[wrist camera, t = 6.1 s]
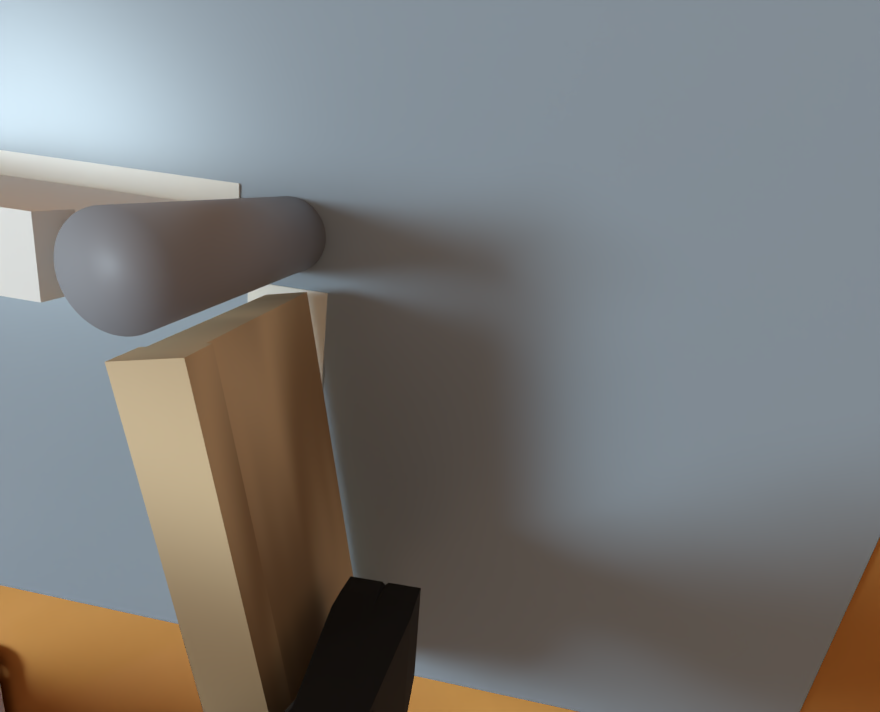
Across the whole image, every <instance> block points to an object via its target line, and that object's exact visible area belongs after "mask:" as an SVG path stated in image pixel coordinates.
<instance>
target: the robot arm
mask: <svg viewBox="0 0 880 712" xmlns="http://www.w3.org/2000/svg"><path fill="white" fill-rule="evenodd" d="M420 593H421V588H418V587H412V586H406V585H400V584H394V583H387V584H386V585H385V584H384V583H383V582H382V581H376V580H370V579H364V578H358V577H352V576H350V578H349V579H348V581H347V582H346V584H345V585H344V587H343V588H342V590H341V591H340V593H339V595H338V596H337V598H336V600H335V601H334V603H333V605H332V607H331V609H330V612H329V614H328V617H327V619H326V622H325V624H324V627H323V629H322V632H321V634H320V637H319V639H318V642H317V644H316V647H315V650H314V652H313V655H312V657H311V660H310V663H309V665H308V668H307V670H306V673H305V675H304V678H303V681H302V683H301V686H300V688H299V691H298V693H297V696H296V699H295V700H294V701H293V702H292V703H291V705H290V706H289V707H288V708H287V709H286V710H285V711H284V712H407V710H408V705H409V700H410V695H411V689H412V684H413V679H414V674H415V661H416V647H417V634H418V620H419V607H420ZM0 712H5V708H4V703H3V697H2V691H1V685H0Z"/></svg>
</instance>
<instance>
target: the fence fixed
mask: <svg viewBox="0 0 880 712" xmlns="http://www.w3.org/2000/svg"><path fill="white" fill-rule="evenodd" d="M325 243H326V233H325V228H324V224H323V222H322V219H321V217H320V216H319V214H318V213H317V211H316V210H315V209H314V208H313V207H312V206H311V205H310V204H308V203H307V202H305V201H304V200H302V199H299V198H296V197H292V196H277V197H256V198H235V199H214V200H192V201H179V200H172V199H165V198H158V197H151V196H144V195H137V194H131V193H124V192H117V191H110V190H103V189H96V188H89V187H82V186H75V185H68V184H61V183H55V182H48V181H41V180H34V179H27V178H20V177H13V176H6V175H0V296H4V297H10V298H16V299H22V300H28V301H34V302H40V303H41V302H45V301H49V300H53V299H57V298H62V297H65V298H66V299H67V301H68V302H69V304H70V305H71V306H72V307H73V309H74V310H75V311H76V312H77V313H78V314H79V315H80V316H81V317H82V318H83V319H84V320H86V321H87V322H88V323H89V324H91V325H93V326H94V327H96V328H98V329H100V330H101V331H104V332H106V333H109V334H112V335H117V336H124V337H133V336H139V335H143V334H146V333H149V332H151V331H154V330H156V329H159V328H161V327H164V326H166V325H169V324H171V323H174V322H176V321H179V320H181V319H184V318H186V317H189V316H191V315H194V314H196V313H199V312H201V311H204V310H206V309H209V308H211V307H214V306H216V305H219V304H221V303H224V302H226V301H229V300H231V299H234V298H236V297H239V296H241V295H244V294H246V293H249V292H251V291H254V290H256V289H259V288H261V287H264V286H266V285H269V284H271V283H274V282H276V281H279V280H281V279H284V278H286V277H289V276H291V275H294V274H296V273H299V272H301V271H304V270H306V269H308V268H310V267H311V266H313V265H314V264H315V263H316V262H317V261H318V260H319V259H320V257H321V255H322V253H323V251H324V248H325Z"/></svg>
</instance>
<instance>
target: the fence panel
mask: <svg viewBox="0 0 880 712" xmlns="http://www.w3.org/2000/svg"><path fill="white" fill-rule="evenodd" d="M105 365H106V369H107V372H108V376H109V379H110V383H111V386H112V390H113V393H114V397H115V401H116V404H117V408H118V411H119V415H120V418H121V422H122V425H123V429H124V432H125V436H126V439H127V443H128V447H129V450H130V454H131V457H132V461H133V464H134V468H135V471H136V475H137V478H138V482H139V485H140V489H141V492H142V496H143V500H144V503H145V507H146V510H147V514H148V517H149V521H150V524H151V528H152V531H153V535H154V538H155V542H156V546H157V549H158V553H159V556H160V560H161V563H162V567H163V570H164V574H165V577H166V581H167V584H168V588H169V592H170V595H171V599H172V602H173V606H174V609H175V613H176V616H177V620H178V623H179V627H180V630H181V634H182V637H183V641H184V645H185V648H186V652H187V655H188V659H189V662H190V666H191V669H192V673H193V676H194V680H195V683H196V687H197V691H198V694H199V698H200V701H201V705H202V708H203V712H284V711H285V710H286V709H287V708H288V707H289V706H290V705H291V703H292V702H293V701H294V700H295V699H296V696H297V693H298V691H299V688H300V686H301V683H302V681H303V678H304V675H305V673H306V670H307V668H308V665H309V663H310V660H311V657H312V655H313V652H314V650H315V647H316V644H317V642H318V639H319V637H320V634H321V632H322V629H323V627H324V624H325V622H326V619H327V617H328V614H329V612H330V609H331V607H332V605H333V603H334V601H335V600H336V598H337V596H338V595H339V593H340V591H341V590H342V588H343V587H344V585H345V584H346V582H347V581H348V579H349V578H350V576H352V577H353V572H352V565H351V559H350V553H349V547H348V541H347V535H346V529H345V522H344V516H343V510H342V504H341V498H340V492H339V486H338V479H337V473H336V467H335V461H334V455H333V449H332V443H331V436H330V430H329V424H328V418H327V412H326V406H325V400H324V393H323V387H322V381H321V375H320V369H319V363H318V357H317V350H316V344H315V338H314V332H313V326H312V320H311V314H310V307H309V301H308V295H307V292H297V293H282V294H267V295H264V296H261V297H259V298H257V299H255V300H252V301H250V302H248V303H245V304H243V305H241V306H238V307H236V308H234V309H232V310H229V311H227V312H225V313H222V314H220V315H218V316H216V317H213V318H211V319H209V320H206V321H204V322H202V323H199V324H197V325H195V326H193V327H190V328H188V329H186V330H183V331H181V332H179V333H176V334H174V335H172V336H170V337H167V338H165V339H163V340H160V341H158V342H156V343H154V344H151V345H149V346H147V347H138V348H136V349H133V350H131V351H129V352H126V353H124V354H122V355H119V356H117V357H115V358H112V359H110V360H108V361H105Z"/></svg>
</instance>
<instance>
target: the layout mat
mask: <svg viewBox="0 0 880 712" xmlns="http://www.w3.org/2000/svg"><path fill="white" fill-rule="evenodd" d="M0 175H6V176H13V177H20V178H27V179H34V180H41V181H48V182H55V183H61V184H68V185H75V186H82V187H89V188H96V189H103V190H110V191H117V192H124V193H131V194H137V195H144V196H151V197H158V198H165V199H172V200H179V201H192V200H214V199H235V198H256V197H277V196H292V197H296V198H299V199H302V200H304V201H305V202H307V203H308V204H310V205H311V206H312V207H313V208H314V209H315V210H316V211H317V213H318V214H319V216H320V217H321V219H322V222H323V224H324V228H325V233H326V243H325V248H324V251H323V253H322V255H321V257H320V259H319V260H318V261H317V262H316V263H315V264H314V265H313V266H311V267H310V268H308V269H306V270H304V271H301V272H299V273H296V274H294V275H291V276H289V277H286V278H284V279H281V280H279V281H276V282H274V283H271V284H269V285H266V286H264V287H261V288H259V289H256V290H254V291H251V292H249V293H246V294H244V295H241V296H239V297H236V298H234V299H231V300H229V301H226V302H224V303H221V304H219V305H216V306H214V307H211V308H209V309H206V310H204V311H201V312H199V313H196V314H194V315H191V316H189V317H186V318H184V319H181V320H179V321H176V322H174V323H171V324H169V325H166V326H164V327H161V328H159V329H156V330H154V331H151V332H149V333H146V334H143V335H139V336H133V337H124V336H117V335H112V334H109V333H106V332H104V331H101V330H100V329H98V328H96V327H94V326H93V325H91V324H89V323H88V322H87V321H86V320H84V319H83V318H82V317H81V316H80V315H79V314H78V313H77V312H76V311H75V310H74V309H73V307H72V306H71V305H70V304H69V302H68V301H67V299H66V298H65V297H62V298H57V299H53V300H49V301H45V302H41V303H40V302H34V301H28V300H22V299H16V298H10V297H4V296H0V585H3V586H7V587H12V588H16V589H21V590H26V591H30V592H35V593H39V594H44V595H48V596H53V597H58V598H62V599H67V600H71V601H76V602H80V603H85V604H90V605H94V606H99V607H103V608H108V609H112V610H117V611H122V612H126V613H131V614H135V615H140V616H144V617H149V618H154V619H158V620H163V621H167V622H172V623H176V624H179V623H178V620H177V616H176V613H175V609H174V606H173V602H172V599H171V595H170V592H169V588H168V584H167V581H166V577H165V574H164V570H163V567H162V563H161V560H160V556H159V553H158V549H157V546H156V542H155V538H154V535H153V531H152V528H151V524H150V521H149V517H148V514H147V510H146V507H145V503H144V500H143V496H142V492H141V489H140V485H139V482H138V478H137V475H136V471H135V468H134V464H133V461H132V457H131V454H130V450H129V447H128V443H127V439H126V436H125V432H124V429H123V425H122V422H121V418H120V415H119V411H118V408H117V404H116V401H115V397H114V393H113V390H112V386H111V383H110V379H109V376H108V372H107V369H106V365H105V361H108V360H110V359H112V358H115V357H117V356H119V355H122V354H124V353H126V352H129V351H131V350H133V349H136V348H138V347H147V346H149V345H151V344H154V343H156V342H158V341H160V340H163V339H165V338H167V337H170V336H172V335H174V334H176V333H179V332H181V331H183V330H186V329H188V328H190V327H193V326H195V325H197V324H199V323H202V322H204V321H206V320H209V319H211V318H213V317H216V316H218V315H220V314H222V313H225V312H227V311H229V310H232V309H234V308H236V307H238V306H241V305H243V304H245V303H248V302H250V301H252V300H255V299H257V298H259V297H261V296H264V295H267V294H282V293H297V292H307V295H308V301H309V307H310V314H311V320H312V326H313V332H314V338H315V344H316V350H317V357H318V363H319V369H320V375H321V381H322V387H323V393H324V400H325V406H326V412H327V418H328V424H329V430H330V436H331V443H332V449H333V455H334V461H335V467H336V473H337V479H338V486H339V492H340V498H341V504H342V510H343V516H344V522H345V529H346V535H347V541H348V547H349V553H350V559H351V565H352V572H353V577H358V578H364V579H370V580H376V581H382V582H383V583H384V584H385V585H386V584H387V583H394V584H400V585H406V586H412V587H418V588H421V593H420V607H419V620H418V634H417V647H416V661H415V674H414V676H419V677H423V678H428V679H432V680H437V681H442V682H446V683H451V684H455V685H460V686H464V687H469V688H474V689H478V690H483V691H487V692H492V693H496V694H501V695H506V696H510V697H515V698H519V699H524V700H528V701H533V702H538V703H542V704H547V705H551V706H556V707H560V708H565V709H570V710H574V711H579V712H800V710H801V708H802V706H803V703H804V701H805V699H806V697H807V695H808V692H809V690H810V688H811V686H812V684H813V682H814V679H815V677H816V675H817V673H818V671H819V668H820V666H821V664H822V662H823V660H824V657H825V655H826V653H827V651H828V649H829V647H830V644H831V642H832V640H833V638H834V636H835V633H836V631H837V629H838V627H839V625H840V623H841V620H842V618H843V616H844V614H845V612H846V609H847V607H848V605H849V603H850V601H851V599H852V596H853V594H854V592H855V590H856V588H857V585H858V583H859V581H860V579H861V577H862V574H863V572H864V570H865V568H866V566H867V564H868V561H869V559H870V557H871V555H872V553H873V550H874V548H875V546H876V544H877V542H878V540H879V537H880V0H0Z"/></svg>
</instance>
